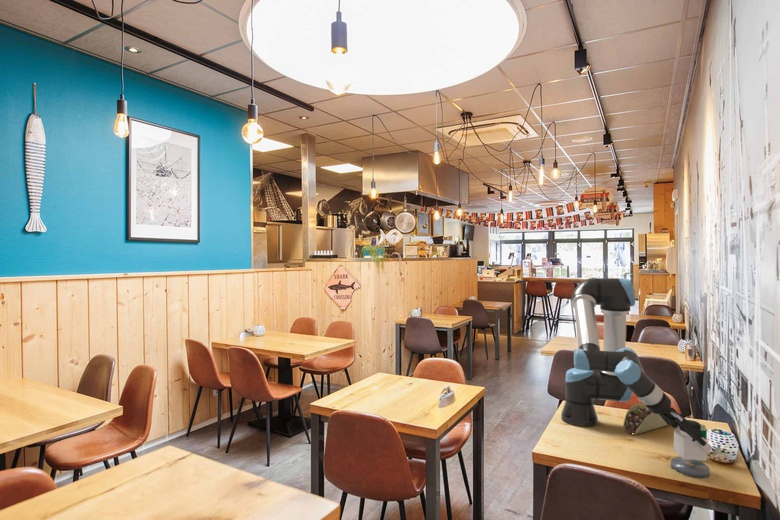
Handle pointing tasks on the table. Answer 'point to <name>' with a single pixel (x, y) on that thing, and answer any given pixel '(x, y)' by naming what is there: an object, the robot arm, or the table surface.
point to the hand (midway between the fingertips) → (699, 445)
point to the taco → (641, 420)
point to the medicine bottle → (688, 444)
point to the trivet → (690, 467)
